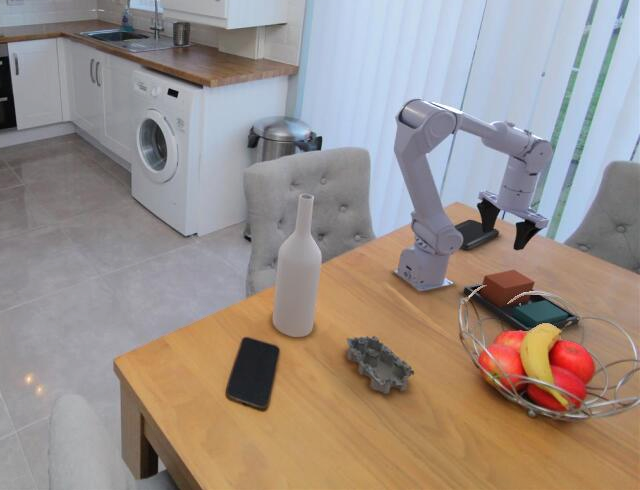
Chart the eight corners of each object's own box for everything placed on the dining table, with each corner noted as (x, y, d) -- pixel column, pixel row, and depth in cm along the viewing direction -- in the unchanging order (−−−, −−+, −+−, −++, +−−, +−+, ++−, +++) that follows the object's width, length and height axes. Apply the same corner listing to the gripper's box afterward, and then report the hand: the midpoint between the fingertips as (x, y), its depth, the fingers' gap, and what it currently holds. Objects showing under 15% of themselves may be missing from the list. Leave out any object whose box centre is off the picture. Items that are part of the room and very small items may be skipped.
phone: (501, 231, 128) (467, 246, 122) (500, 234, 129) (466, 250, 123) (470, 218, 135) (437, 232, 129) (469, 222, 135) (436, 236, 129)
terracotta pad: (498, 307, 102) (504, 288, 100) (479, 294, 106) (484, 275, 105) (528, 300, 104) (534, 281, 102) (508, 288, 108) (514, 269, 106)
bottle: (288, 305, 106) (301, 183, 95) (320, 326, 100) (338, 197, 89) (264, 321, 102) (275, 194, 91) (296, 343, 95) (312, 211, 84)
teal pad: (533, 331, 96) (536, 321, 95) (511, 316, 100) (514, 307, 99) (564, 324, 97) (568, 314, 96) (542, 309, 101) (545, 300, 100)
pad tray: (525, 338, 95) (528, 330, 94) (462, 293, 108) (464, 286, 107) (577, 325, 97) (580, 317, 97) (510, 283, 110) (512, 276, 110)
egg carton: (413, 391, 84) (418, 373, 83) (373, 397, 83) (377, 379, 82) (377, 346, 94) (380, 329, 93) (341, 350, 93) (343, 334, 92)
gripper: (567, 198, 100) (548, 254, 104) (501, 171, 113) (487, 222, 118) (540, 203, 98) (522, 259, 103) (476, 175, 111) (463, 226, 116)
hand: (502, 240), depth 110 cm, fingers open, 7 cm apart
